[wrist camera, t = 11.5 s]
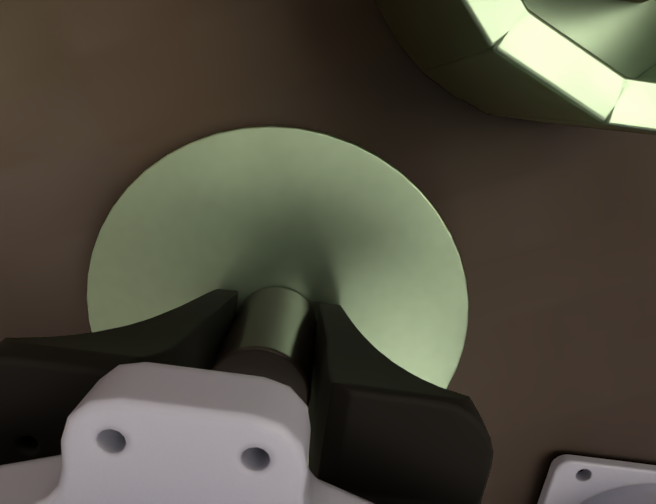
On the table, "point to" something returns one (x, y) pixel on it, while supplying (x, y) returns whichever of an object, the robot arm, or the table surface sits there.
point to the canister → (538, 57)
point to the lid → (285, 252)
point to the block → (639, 0)
